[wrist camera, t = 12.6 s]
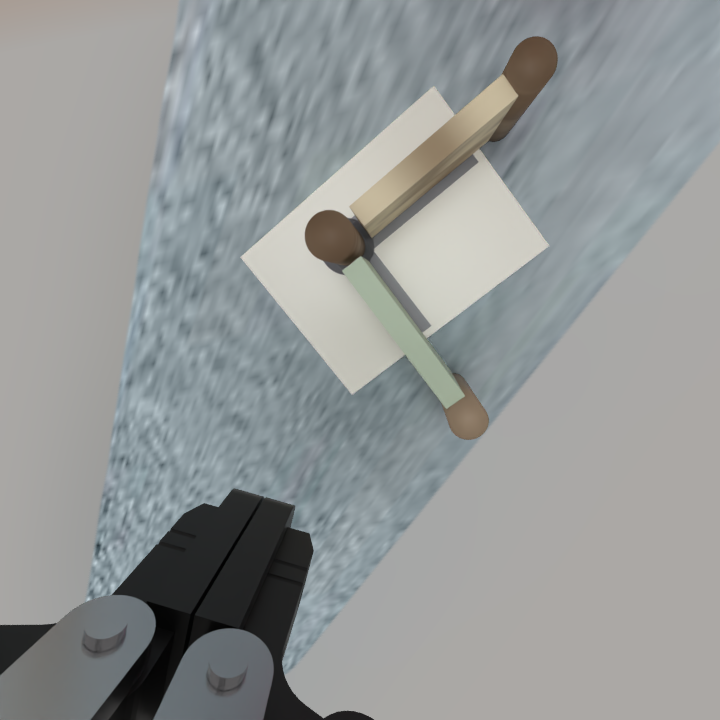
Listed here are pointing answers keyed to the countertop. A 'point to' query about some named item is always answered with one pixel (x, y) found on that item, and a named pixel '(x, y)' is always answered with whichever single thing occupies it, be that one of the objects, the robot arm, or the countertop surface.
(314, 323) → the card
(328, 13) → the countertop surface
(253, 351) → the countertop surface
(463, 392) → the fence gate
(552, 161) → the countertop surface
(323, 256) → the fence fixed
